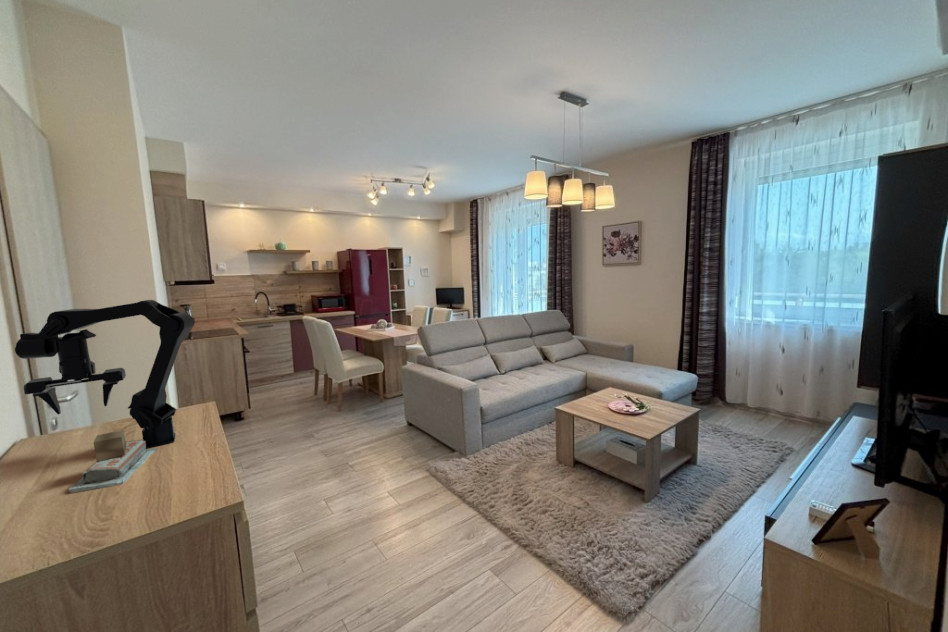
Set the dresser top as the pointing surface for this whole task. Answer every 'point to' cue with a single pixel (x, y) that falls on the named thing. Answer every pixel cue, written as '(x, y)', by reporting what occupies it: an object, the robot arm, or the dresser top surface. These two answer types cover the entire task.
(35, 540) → the dresser top surface
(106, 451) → the walnut block
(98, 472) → the packaged product
